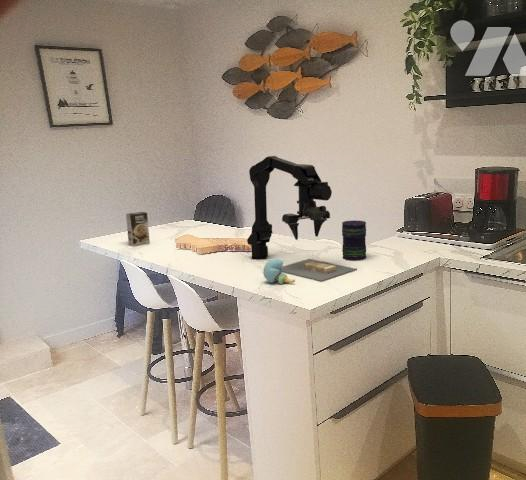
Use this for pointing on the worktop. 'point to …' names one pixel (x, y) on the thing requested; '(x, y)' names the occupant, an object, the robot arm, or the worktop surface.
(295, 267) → the mat
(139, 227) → the coffee box
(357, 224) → the storage jar
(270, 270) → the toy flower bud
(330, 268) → the birch tile
